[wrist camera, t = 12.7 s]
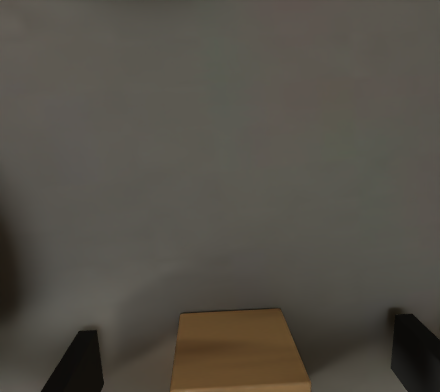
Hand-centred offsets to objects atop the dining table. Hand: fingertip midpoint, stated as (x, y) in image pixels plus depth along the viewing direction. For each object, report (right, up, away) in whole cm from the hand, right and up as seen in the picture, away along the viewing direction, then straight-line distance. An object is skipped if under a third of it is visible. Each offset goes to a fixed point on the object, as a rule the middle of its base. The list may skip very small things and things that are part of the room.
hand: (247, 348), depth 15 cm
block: (-1, -1, 0) cm, 1 cm away
